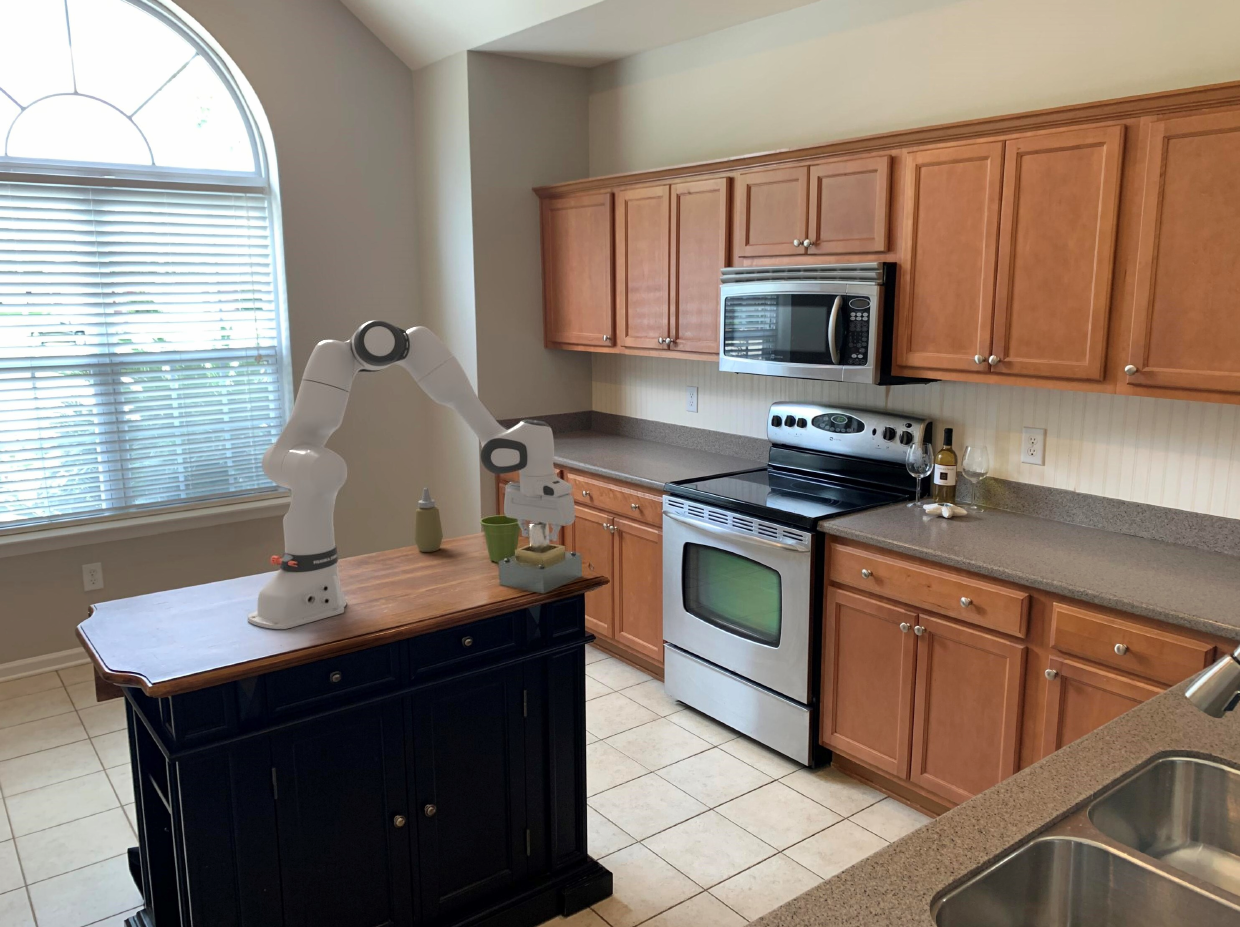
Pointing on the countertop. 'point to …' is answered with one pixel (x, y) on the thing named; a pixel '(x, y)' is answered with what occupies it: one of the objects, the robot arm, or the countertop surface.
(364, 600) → the countertop surface
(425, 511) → the squeeze bottle
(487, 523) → the plant pot
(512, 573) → the grey square housing block
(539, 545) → the spout can
